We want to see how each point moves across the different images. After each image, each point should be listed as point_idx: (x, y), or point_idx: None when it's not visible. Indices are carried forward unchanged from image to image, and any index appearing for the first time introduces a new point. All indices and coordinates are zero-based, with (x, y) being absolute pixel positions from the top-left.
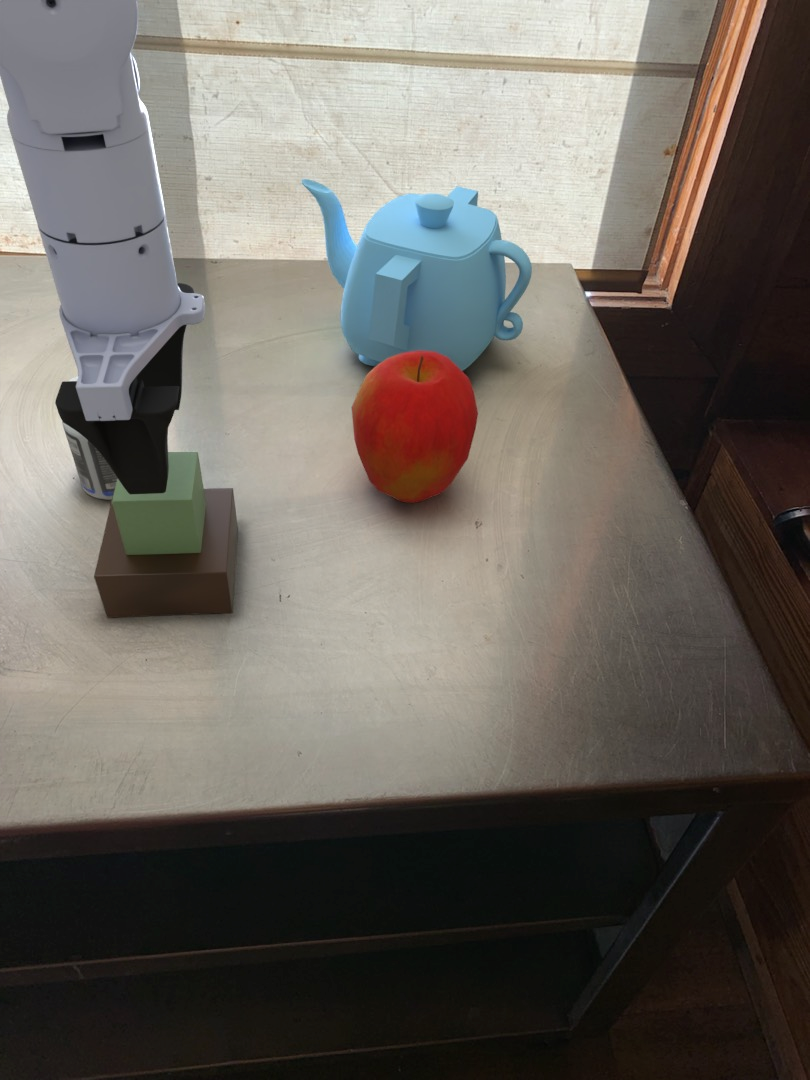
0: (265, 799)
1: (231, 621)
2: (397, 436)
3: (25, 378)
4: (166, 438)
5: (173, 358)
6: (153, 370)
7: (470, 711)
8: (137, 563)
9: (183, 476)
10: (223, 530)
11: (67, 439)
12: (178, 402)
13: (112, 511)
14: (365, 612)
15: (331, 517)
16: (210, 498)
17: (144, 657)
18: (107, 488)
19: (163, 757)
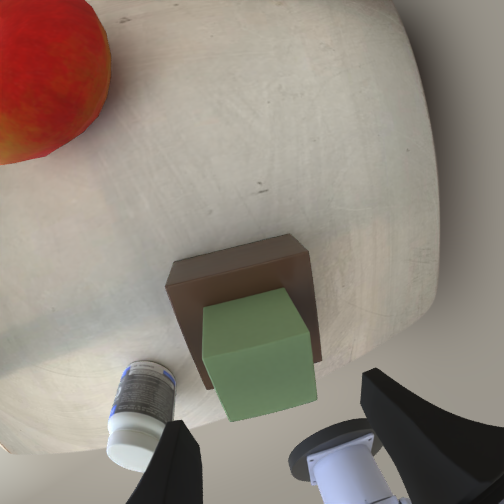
0: (433, 170)
1: (299, 231)
2: (79, 57)
3: (83, 443)
4: (441, 422)
5: (172, 498)
6: (188, 492)
7: (355, 26)
8: None
9: (261, 357)
10: (242, 274)
11: None
12: (181, 430)
13: None
14: (268, 102)
15: (131, 165)
16: (192, 305)
17: (341, 288)
18: (173, 385)
19: (413, 243)
